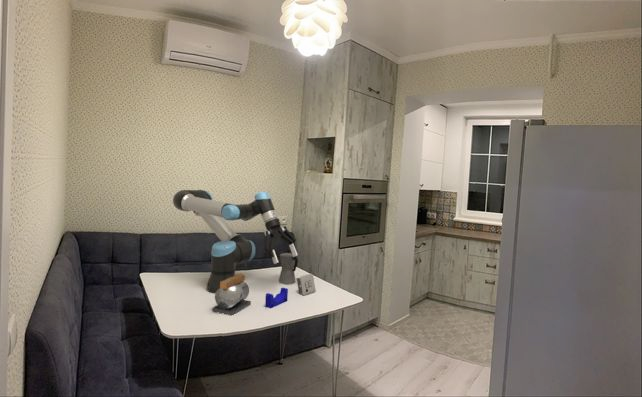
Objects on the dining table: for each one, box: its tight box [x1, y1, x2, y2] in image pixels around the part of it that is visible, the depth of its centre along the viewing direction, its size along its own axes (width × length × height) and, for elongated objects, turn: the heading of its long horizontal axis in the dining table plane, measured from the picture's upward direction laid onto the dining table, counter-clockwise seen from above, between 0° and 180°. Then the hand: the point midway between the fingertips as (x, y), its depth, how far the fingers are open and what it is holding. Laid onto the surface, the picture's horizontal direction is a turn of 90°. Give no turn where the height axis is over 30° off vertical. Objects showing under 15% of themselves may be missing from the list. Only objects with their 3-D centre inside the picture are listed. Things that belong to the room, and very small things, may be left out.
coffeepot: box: [278, 249, 299, 285], centre depth 185 cm, size 15×9×18 cm, turn 39°
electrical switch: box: [296, 273, 316, 296], centre depth 169 cm, size 9×5×9 cm, turn 141°
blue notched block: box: [264, 287, 289, 309], centre depth 152 cm, size 12×4×6 cm, turn 148°
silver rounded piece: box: [211, 273, 252, 316], centre depth 144 cm, size 14×10×13 cm
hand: (286, 259), depth 168 cm, fingers open, 13 cm apart
